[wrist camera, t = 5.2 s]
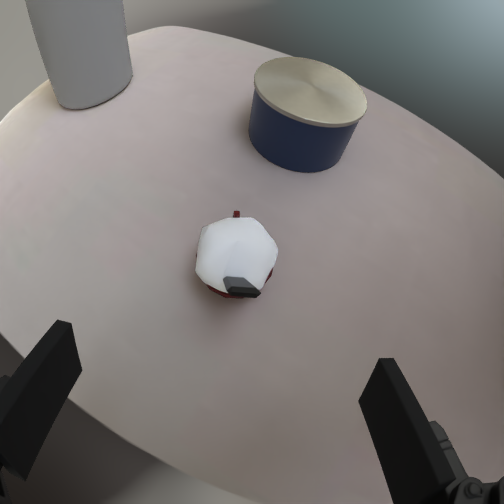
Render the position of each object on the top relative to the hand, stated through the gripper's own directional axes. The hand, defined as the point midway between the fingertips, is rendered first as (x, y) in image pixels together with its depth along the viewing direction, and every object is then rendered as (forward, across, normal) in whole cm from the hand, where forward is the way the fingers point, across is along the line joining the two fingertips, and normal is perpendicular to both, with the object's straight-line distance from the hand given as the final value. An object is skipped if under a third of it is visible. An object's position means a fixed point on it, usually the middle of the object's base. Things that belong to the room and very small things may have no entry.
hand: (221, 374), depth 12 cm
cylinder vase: (+35, -25, +16) cm, 46 cm away
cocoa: (+16, 0, -3) cm, 16 cm away
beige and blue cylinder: (+29, +6, +10) cm, 32 cm away
